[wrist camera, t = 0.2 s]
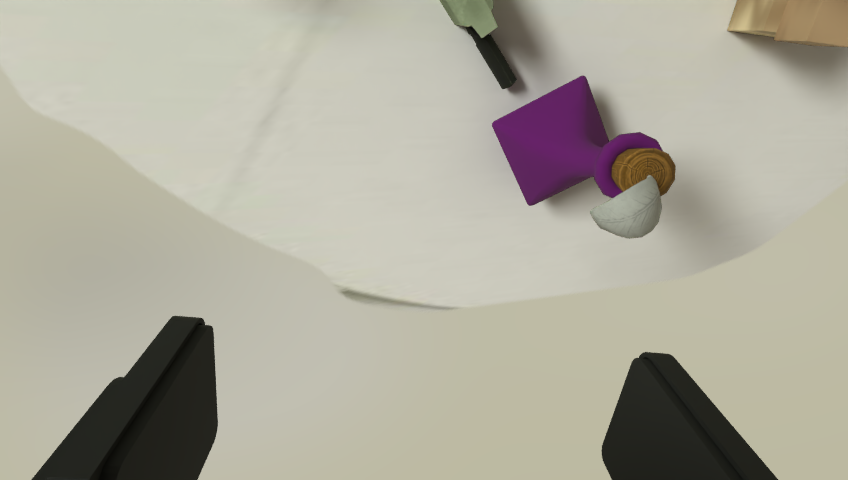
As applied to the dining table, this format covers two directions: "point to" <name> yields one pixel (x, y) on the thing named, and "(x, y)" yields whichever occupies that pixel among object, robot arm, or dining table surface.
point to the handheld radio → (481, 34)
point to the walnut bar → (815, 23)
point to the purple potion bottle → (585, 158)
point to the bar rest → (757, 16)
